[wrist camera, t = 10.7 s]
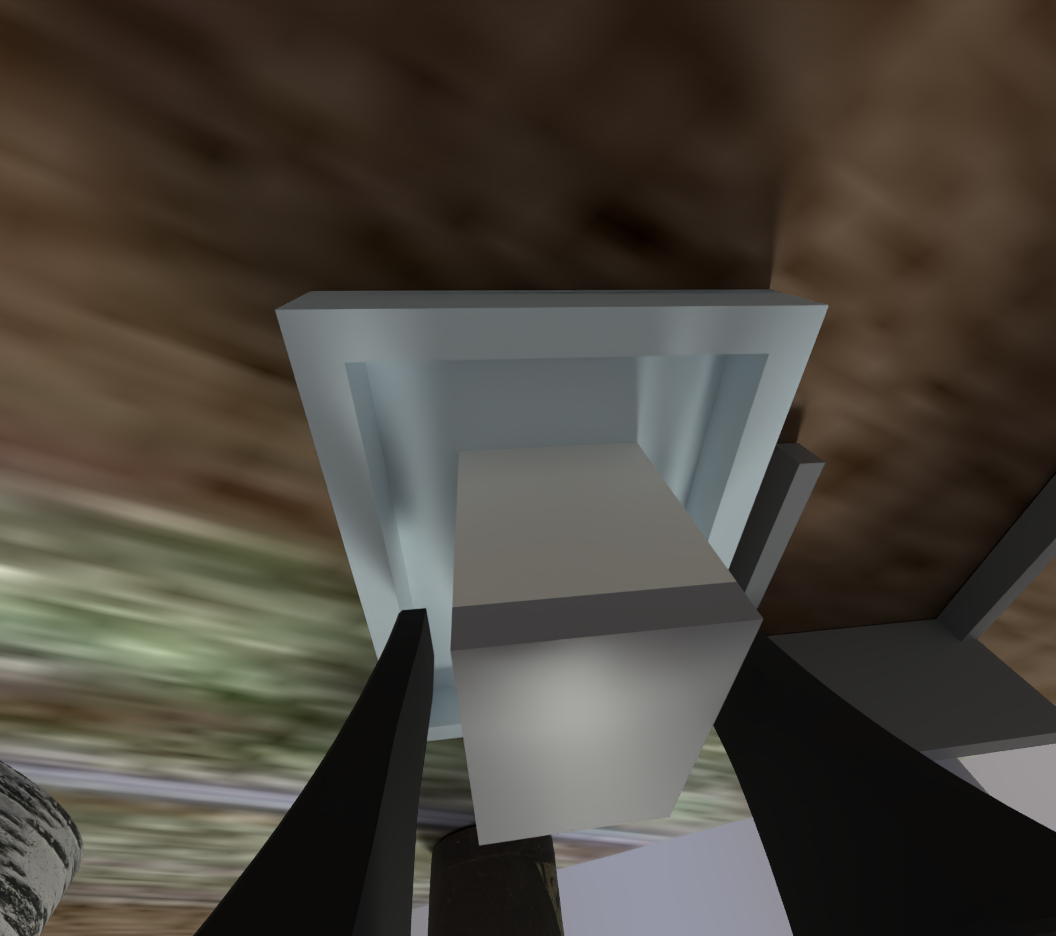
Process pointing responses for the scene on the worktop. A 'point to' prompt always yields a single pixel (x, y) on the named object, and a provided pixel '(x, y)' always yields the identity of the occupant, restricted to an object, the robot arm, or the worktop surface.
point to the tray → (530, 413)
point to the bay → (914, 632)
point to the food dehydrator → (33, 854)
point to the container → (494, 887)
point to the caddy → (584, 638)
